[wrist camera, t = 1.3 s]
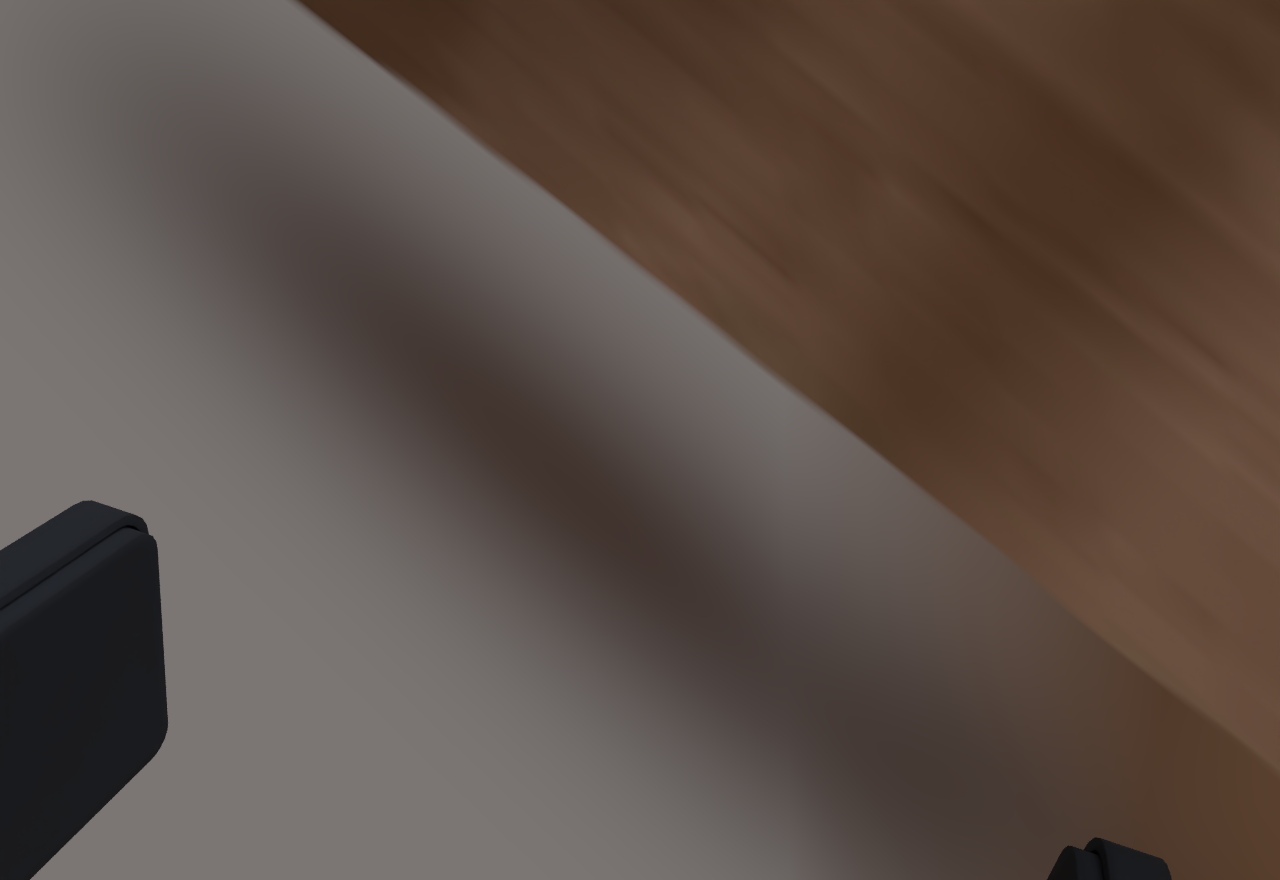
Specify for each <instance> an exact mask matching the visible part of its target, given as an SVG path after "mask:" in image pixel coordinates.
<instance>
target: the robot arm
mask: <svg viewBox="0 0 1280 880" xmlns="http://www.w3.org/2000/svg"><path fill="white" fill-rule="evenodd" d="M165 683H166V682H165V665H164V648H163V632H162V615H161V599H160V582H159V565H158V549H157V544H156V540H155V539H154V538H153V536H151V535H149V533H148V528H147V525H146V523H145V522H144V520H143V519H142V518H140V517H138V516H136V515H134V514H131V513H128V512H124V511H122V510H119V509H116V508H113V507H110V506H107V505H104V504H101V503H98V502H95V501H82V502H80V503H78V504H75V505H73V506H72V507H70V508H68V509H67V510H65V511H63V512H62V513H60V514H59V515H57V516H55V517H54V518H52V519H50V520H49V521H47V522H46V523H44V524H42V525H41V526H39V527H38V528H36V529H34V530H33V531H31V532H29V533H28V534H26V535H25V536H23V537H21V538H20V539H18V540H17V541H15V542H13V543H12V544H10V545H9V546H7V547H5V548H4V549H2V550H0V880H30V879H31V878H32V877H33V876H34V875H35V874H36V873H37V872H38V871H39V870H40V869H41V868H42V867H43V866H44V865H45V864H46V863H47V862H48V861H49V860H50V859H51V858H52V857H53V856H54V855H55V854H56V853H57V852H58V851H59V850H60V849H61V848H62V847H63V846H64V845H65V844H66V843H67V842H68V841H69V840H70V839H71V838H72V837H73V836H74V835H75V834H77V833H78V832H79V831H80V830H81V829H82V828H83V827H84V826H85V825H86V824H87V823H88V822H89V821H90V820H91V819H92V817H94V816H95V814H97V813H98V812H99V811H100V810H101V809H102V808H103V807H104V806H105V805H106V804H107V803H108V802H109V801H110V800H111V799H112V798H113V797H114V796H115V795H116V794H117V793H118V792H119V791H120V790H121V789H122V788H123V787H124V786H125V785H126V784H127V783H128V782H129V781H130V780H131V779H132V778H133V777H134V776H135V775H136V774H137V773H138V772H139V771H140V770H141V769H142V768H143V767H144V766H145V765H146V764H147V763H148V762H149V761H150V760H151V759H152V758H153V757H154V756H155V755H156V753H157V752H158V750H159V749H160V747H161V745H162V743H163V741H164V739H165V736H166V733H167V728H168V717H167V716H168V715H167V701H166V700H167V698H166V684H165ZM1047 880H1171V875H1170V872H1169V869H1168V866H1167V864H1166V863H1165V862H1164V860H1163V859H1161V858H1158V857H1155V856H1152V855H1149V854H1146V853H1143V852H1140V851H1137V850H1134V849H1131V848H1128V847H1125V846H1122V845H1119V844H1116V843H1113V842H1110V841H1107V840H1104V839H1101V838H1094V839H1092V840H1091V841H1089V843H1088V844H1087V846H1086V847H1085V849H1084V850H1082V849H1079V848H1076V847H1073V846H1067V847H1066V848H1064V850H1063V851H1062V853H1061V854H1060V856H1059V858H1058V860H1057V862H1056V864H1055V866H1054V867H1053V869H1052V871H1051V873H1050V875H1049V877H1048V879H1047Z"/></svg>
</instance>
